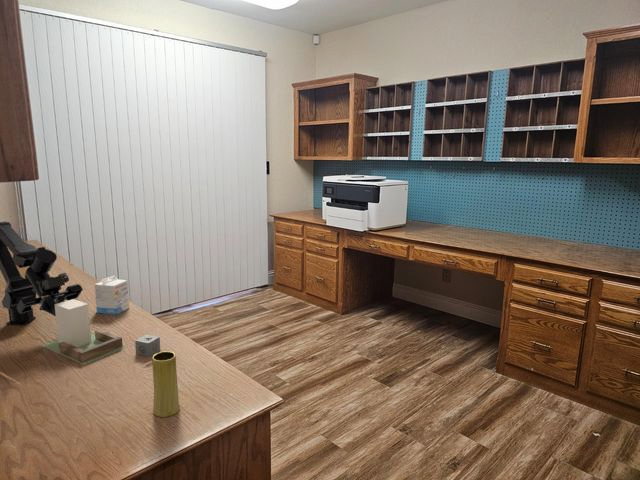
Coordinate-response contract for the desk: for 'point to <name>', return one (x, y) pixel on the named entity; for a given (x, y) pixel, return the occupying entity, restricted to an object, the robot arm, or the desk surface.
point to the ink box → (111, 295)
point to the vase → (165, 384)
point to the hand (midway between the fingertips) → (63, 318)
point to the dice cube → (147, 345)
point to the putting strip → (55, 347)
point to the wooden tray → (85, 355)
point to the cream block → (73, 322)
